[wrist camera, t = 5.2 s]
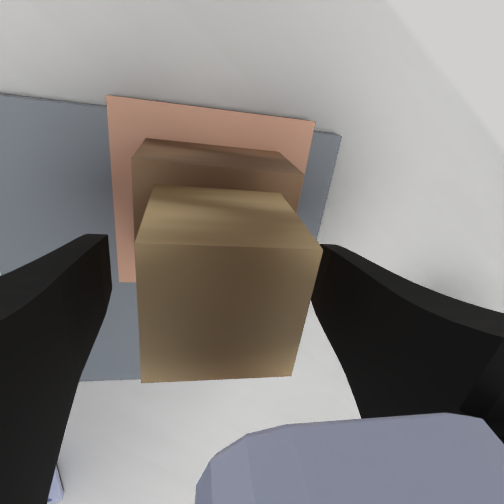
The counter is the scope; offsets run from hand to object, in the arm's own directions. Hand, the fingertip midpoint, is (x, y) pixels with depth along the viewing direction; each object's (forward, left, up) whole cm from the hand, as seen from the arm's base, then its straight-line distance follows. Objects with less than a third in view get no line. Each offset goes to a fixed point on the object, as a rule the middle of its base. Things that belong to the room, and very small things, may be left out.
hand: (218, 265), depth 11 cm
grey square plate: (-2, -4, -6) cm, 8 cm away
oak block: (0, 0, -2) cm, 2 cm away
